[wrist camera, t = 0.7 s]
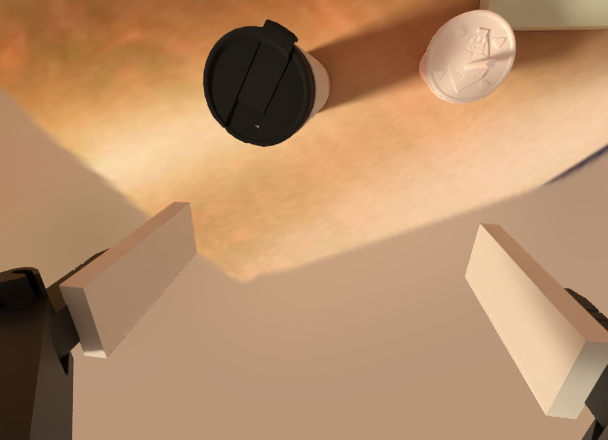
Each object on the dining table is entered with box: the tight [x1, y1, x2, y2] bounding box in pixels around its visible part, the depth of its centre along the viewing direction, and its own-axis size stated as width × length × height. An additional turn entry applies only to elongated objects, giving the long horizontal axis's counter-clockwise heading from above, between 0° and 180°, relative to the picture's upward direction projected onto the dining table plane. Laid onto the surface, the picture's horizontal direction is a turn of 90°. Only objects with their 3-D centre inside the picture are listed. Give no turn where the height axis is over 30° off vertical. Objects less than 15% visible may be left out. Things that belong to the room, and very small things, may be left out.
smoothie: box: [419, 10, 516, 104], centre depth 26 cm, size 6×6×14 cm
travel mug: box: [203, 19, 330, 147], centre depth 26 cm, size 6×7×20 cm
